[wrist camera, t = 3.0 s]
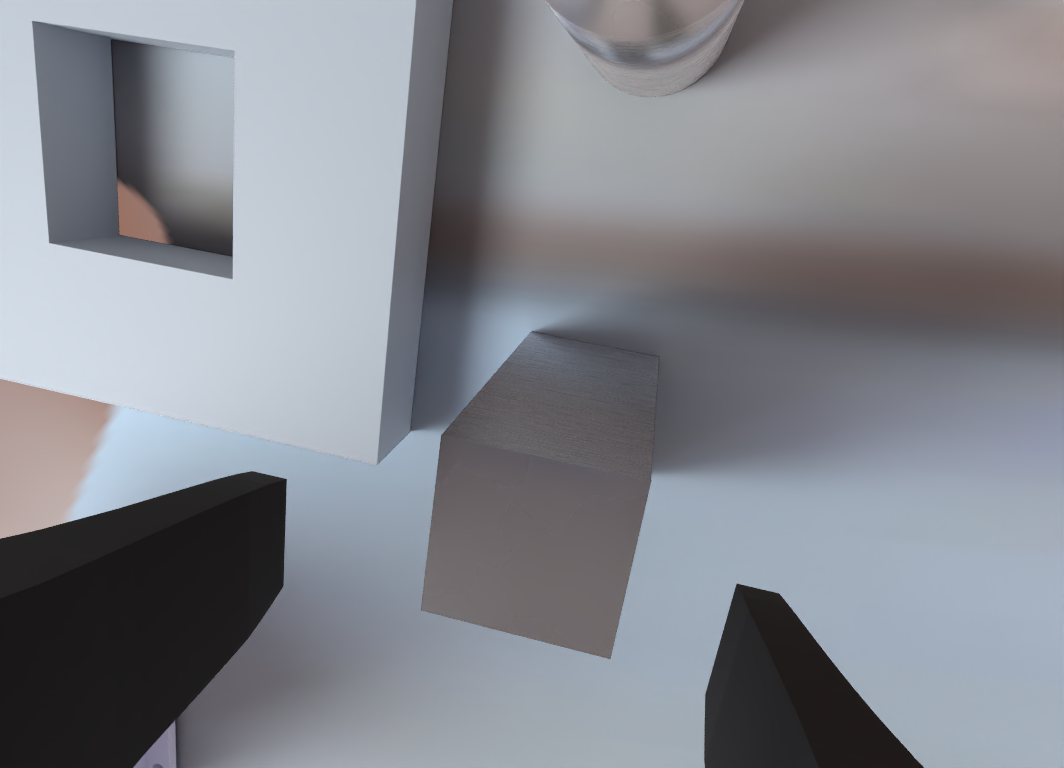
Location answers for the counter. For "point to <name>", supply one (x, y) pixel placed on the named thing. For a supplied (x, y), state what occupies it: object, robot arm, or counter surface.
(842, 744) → the robot arm
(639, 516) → the square bit
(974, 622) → the counter surface
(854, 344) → the counter surface
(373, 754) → the counter surface
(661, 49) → the round bit
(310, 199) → the bore block
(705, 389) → the counter surface
